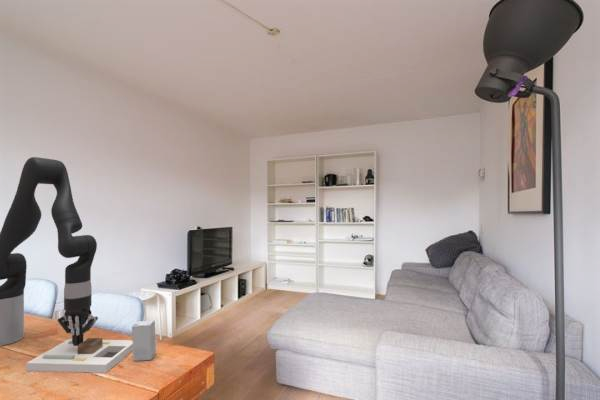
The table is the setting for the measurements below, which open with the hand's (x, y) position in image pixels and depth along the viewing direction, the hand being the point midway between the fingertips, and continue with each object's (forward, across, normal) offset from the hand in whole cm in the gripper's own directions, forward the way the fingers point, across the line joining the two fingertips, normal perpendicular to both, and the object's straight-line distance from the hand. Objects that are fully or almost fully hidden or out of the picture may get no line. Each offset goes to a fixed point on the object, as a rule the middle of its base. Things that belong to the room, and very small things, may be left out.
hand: (77, 344), depth 101 cm
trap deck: (+4, +3, 0) cm, 5 cm away
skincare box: (+5, +23, +1) cm, 23 cm away
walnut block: (+2, +4, 0) cm, 4 cm away
